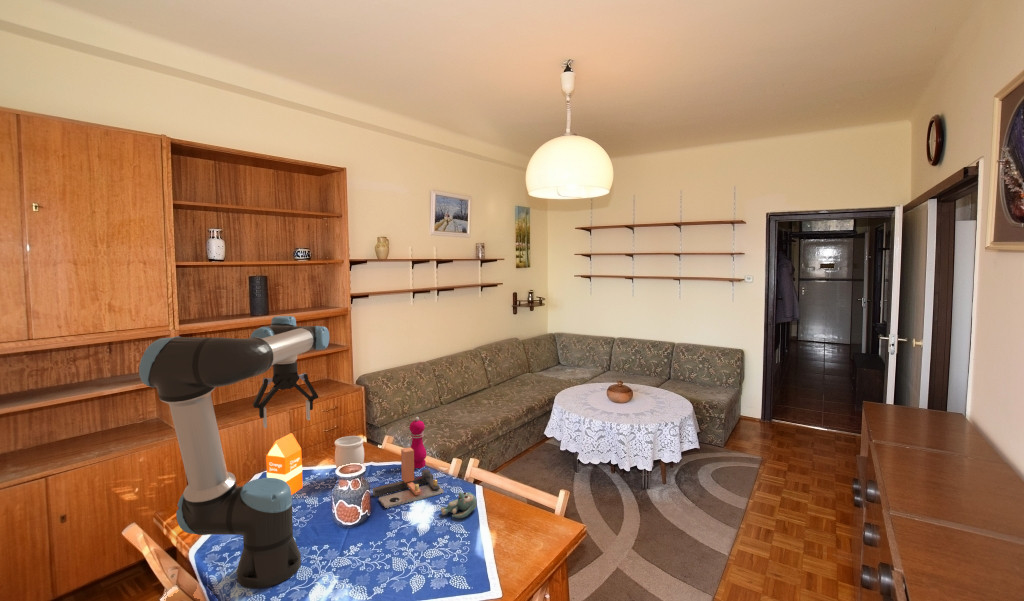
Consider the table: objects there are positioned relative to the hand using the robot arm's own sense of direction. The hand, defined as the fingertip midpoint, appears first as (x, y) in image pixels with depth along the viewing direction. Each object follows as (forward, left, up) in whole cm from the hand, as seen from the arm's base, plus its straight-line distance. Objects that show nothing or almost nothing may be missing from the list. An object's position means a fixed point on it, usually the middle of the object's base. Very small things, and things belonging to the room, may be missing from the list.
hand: (287, 423), depth 166 cm
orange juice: (+6, 0, -27) cm, 27 cm away
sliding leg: (-18, -38, -25) cm, 49 cm away
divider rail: (-18, -36, -26) cm, 48 cm away
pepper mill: (+2, -48, -27) cm, 55 cm away
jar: (+4, -22, -27) cm, 35 cm away
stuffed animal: (-40, -45, -27) cm, 66 cm away
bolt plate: (-22, -36, -27) cm, 50 cm away
